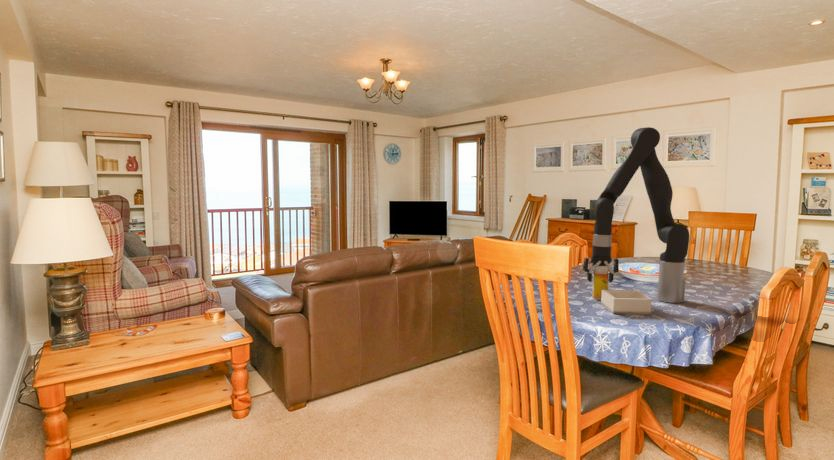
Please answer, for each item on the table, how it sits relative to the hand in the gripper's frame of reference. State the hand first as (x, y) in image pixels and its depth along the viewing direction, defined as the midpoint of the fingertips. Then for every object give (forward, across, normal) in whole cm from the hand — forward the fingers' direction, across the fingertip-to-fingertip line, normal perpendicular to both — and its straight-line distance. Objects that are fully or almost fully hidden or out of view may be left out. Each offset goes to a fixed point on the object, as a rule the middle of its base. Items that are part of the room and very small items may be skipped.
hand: (599, 281), depth 196 cm
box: (+8, -5, +15) cm, 18 cm away
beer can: (+8, 0, 0) cm, 8 cm away
